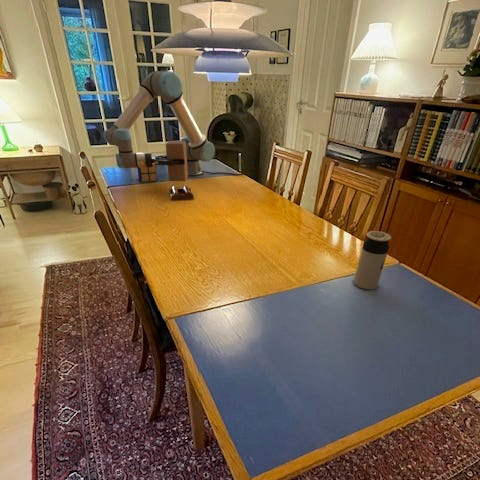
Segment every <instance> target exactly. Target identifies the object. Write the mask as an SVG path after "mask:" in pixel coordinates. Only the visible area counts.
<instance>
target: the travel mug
mask: <svg viewBox="0 0 480 480" xmlns="http://www.w3.org/2000/svg"><path fill="white" fill-rule="evenodd" d="M391 240H392V236H391V235H390V234H389V233H387V232H384V231H379V230H370V231H368V232H367V233H366V239H365V240H364V242H363V243H362V247H361V252H360V256H359V259H358V263H357V267H356V271H355V275H354V279H353V283H354V285H355V286H356V287H358V288H361V289H363V290H374V289H377V288H378V285H379V282H380V278H381V275H382V271H383V269H384V266H385V262H386V259H387V256H388V252H389V249H390V244H389V242H390V241H391Z"/></svg>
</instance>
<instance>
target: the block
mask: <svg viewBox="0 0 480 480" xmlns="http://www.w3.org/2000/svg"><path fill="white" fill-rule="evenodd" d="M165 152H166V153H165V154H167V159H170V160H173V159H185V164H180V165H173V166H169V165H167V175H168V180H169V181H170V182H186V181H187V180H188V177H189V176H188V170H187V154H186V142H185V141H181V140H168V141H167V142H166V143H165Z"/></svg>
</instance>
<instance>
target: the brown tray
mask: <svg viewBox="0 0 480 480" xmlns="http://www.w3.org/2000/svg"><path fill="white" fill-rule="evenodd" d="M169 195H170V198H171V201H187V200H188V201H189V200H194V194H193V193H192V189H191V187H189V186H187V185H184V186H183V187H176V186H172V187H171V188H169Z"/></svg>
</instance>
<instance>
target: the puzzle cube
mask: <svg viewBox="0 0 480 480" xmlns="http://www.w3.org/2000/svg"><path fill="white" fill-rule="evenodd" d="M136 169H137V175H138V177H137V178H138V179H139V180H140V181H141V182H142V183H148V182H158V173H157V165H155V163H153V167H146V166H145V167H143V168H142V169H140V168H136Z"/></svg>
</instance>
